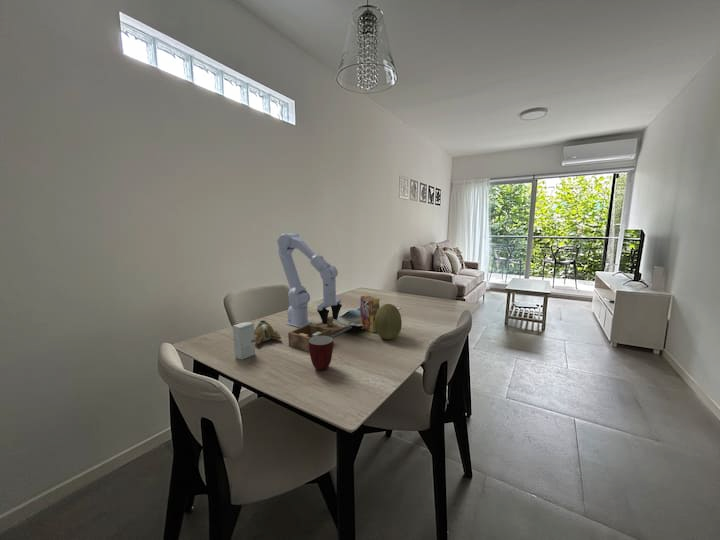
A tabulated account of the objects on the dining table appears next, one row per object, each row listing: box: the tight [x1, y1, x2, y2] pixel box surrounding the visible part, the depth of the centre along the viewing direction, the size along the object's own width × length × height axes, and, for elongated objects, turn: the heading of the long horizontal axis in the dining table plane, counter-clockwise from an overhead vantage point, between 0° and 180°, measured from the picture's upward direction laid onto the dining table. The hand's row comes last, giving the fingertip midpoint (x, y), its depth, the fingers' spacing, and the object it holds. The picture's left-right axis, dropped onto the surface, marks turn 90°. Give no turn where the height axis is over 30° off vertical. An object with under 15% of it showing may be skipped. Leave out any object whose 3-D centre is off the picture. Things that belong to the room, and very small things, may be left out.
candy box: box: [360, 294, 380, 334], centre depth 133 cm, size 9×4×15 cm, turn 39°
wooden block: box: [315, 316, 348, 335], centre depth 135 cm, size 13×13×5 cm
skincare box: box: [232, 321, 256, 361], centre depth 106 cm, size 6×4×12 cm
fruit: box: [375, 303, 403, 340], centre depth 122 cm, size 11×11×15 cm
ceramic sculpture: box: [253, 318, 282, 345], centre depth 122 cm, size 11×9×15 cm
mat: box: [331, 327, 353, 339], centre depth 135 cm, size 16×16×1 cm
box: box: [287, 323, 332, 353], centre depth 118 cm, size 12×12×6 cm
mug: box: [308, 336, 334, 372], centre depth 96 cm, size 10×8×10 cm
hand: (330, 321), depth 135 cm, fingers open, 7 cm apart
